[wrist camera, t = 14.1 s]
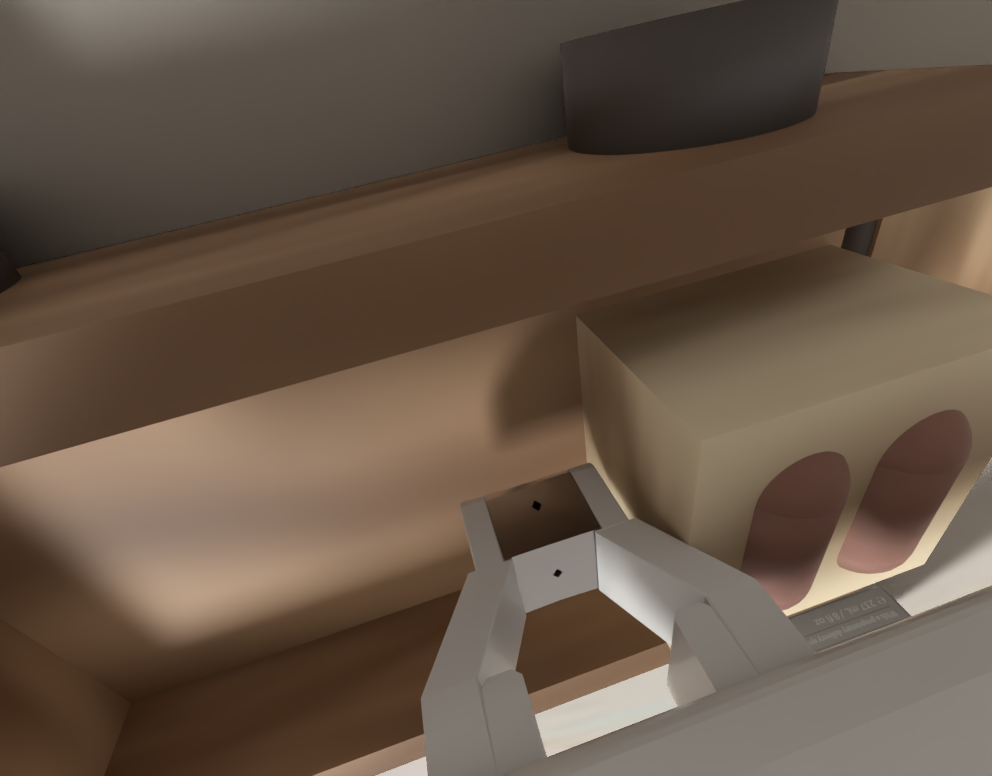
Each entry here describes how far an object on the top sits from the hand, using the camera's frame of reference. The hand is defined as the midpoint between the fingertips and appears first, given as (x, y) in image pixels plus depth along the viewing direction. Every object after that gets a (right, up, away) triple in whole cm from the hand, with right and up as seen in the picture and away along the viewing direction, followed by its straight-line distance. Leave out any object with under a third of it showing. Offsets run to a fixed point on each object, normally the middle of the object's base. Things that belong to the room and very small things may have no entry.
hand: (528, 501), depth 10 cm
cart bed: (-3, +1, +2) cm, 3 cm away
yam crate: (+4, +2, +2) cm, 5 cm away
